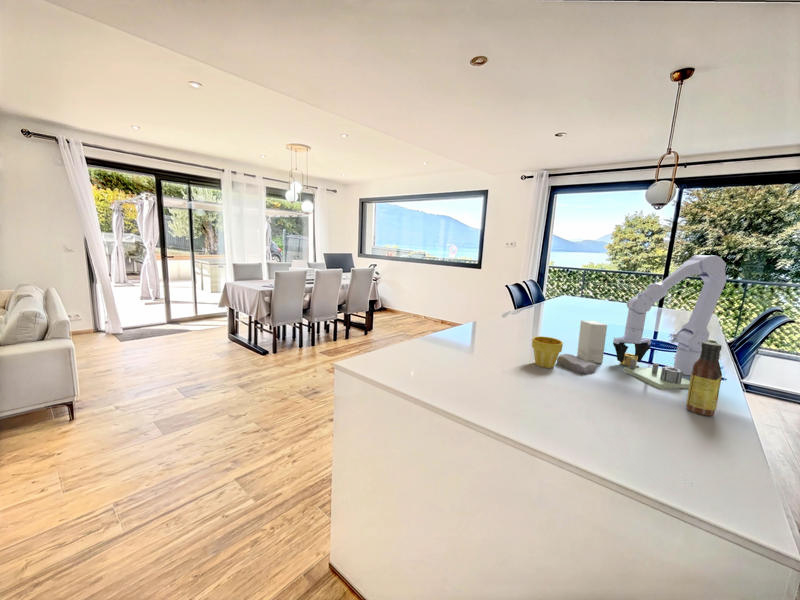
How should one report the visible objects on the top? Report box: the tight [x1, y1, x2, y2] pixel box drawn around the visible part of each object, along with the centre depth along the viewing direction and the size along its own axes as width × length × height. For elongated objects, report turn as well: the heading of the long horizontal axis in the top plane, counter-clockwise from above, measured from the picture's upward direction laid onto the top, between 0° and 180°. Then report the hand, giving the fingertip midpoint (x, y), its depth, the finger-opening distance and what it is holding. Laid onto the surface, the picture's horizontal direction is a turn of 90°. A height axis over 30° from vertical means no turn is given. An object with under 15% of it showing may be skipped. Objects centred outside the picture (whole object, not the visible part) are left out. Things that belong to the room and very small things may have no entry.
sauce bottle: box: [685, 341, 723, 417], centre depth 94 cm, size 6×6×20 cm
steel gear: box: [660, 366, 684, 384], centre depth 113 cm, size 5×5×4 cm
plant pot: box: [531, 335, 564, 369], centre depth 126 cm, size 10×10×10 cm
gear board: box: [623, 359, 690, 390], centre depth 118 cm, size 14×15×6 cm
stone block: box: [556, 353, 597, 375], centre depth 126 cm, size 12×5×10 cm
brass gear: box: [619, 352, 638, 368], centre depth 132 cm, size 5×5×4 cm
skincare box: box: [576, 320, 608, 364], centre depth 135 cm, size 8×7×16 cm
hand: (628, 361), depth 133 cm, fingers open, 7 cm apart
